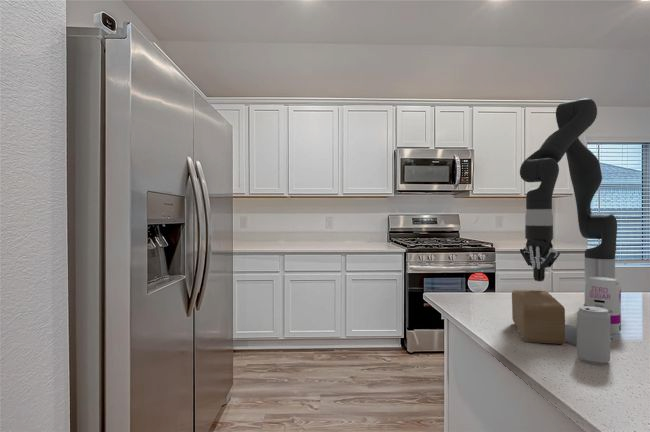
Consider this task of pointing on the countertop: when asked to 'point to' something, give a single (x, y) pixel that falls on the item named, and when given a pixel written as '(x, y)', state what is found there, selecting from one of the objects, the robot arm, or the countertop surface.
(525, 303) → the wooden block
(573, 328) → the mat
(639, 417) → the countertop surface
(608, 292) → the supplement can
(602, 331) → the beverage can
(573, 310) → the countertop surface
